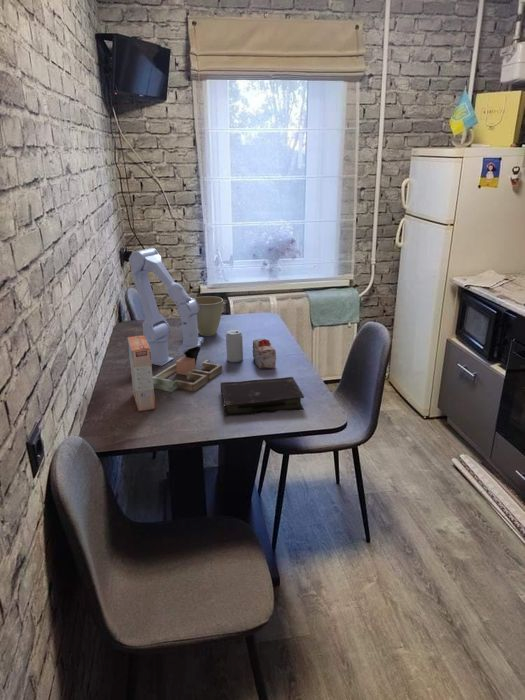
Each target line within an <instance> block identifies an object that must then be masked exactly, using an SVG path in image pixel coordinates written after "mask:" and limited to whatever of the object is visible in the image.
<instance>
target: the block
mask: <svg viewBox="0 0 525 700" xmlns="http://www.w3.org/2000/svg"><path fill="white" fill-rule="evenodd" d="M175 363H176V367H177V371H176V374H177V375H183V376H187V372H189V371H190V370H192V369H196V370H197V368H196V366H195V359H194V358H189V357H186V356H182V357H181V358H179V359H177V360H176V361H175Z"/></svg>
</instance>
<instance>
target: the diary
mask: <svg viewBox="0 0 525 700" xmlns="http://www.w3.org/2000/svg"><path fill="white" fill-rule="evenodd" d="M220 393H221V394H222V395H223V396H222V397H223V402H224V403H223V404H225V406H224V405H223V411H224V416H225V417H239V416H250V415H259V414H271V413H272V414H273V413H278V412H285V411H286V412H295V411H305V409H304V407H303V405H302V403H301V401H302V400H301V399H305V395H304V394H303V392H302V390H301V388H300V387H299V385H298V384H297V381H296V380H295V379H294V377H293V376H288V377H286V376H285V377H279V378H277V377H276V378H267V379H266V378H265V379H264V378H263V379H251V380H242V381H223V382H220Z"/></svg>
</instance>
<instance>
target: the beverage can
mask: <svg viewBox="0 0 525 700" xmlns="http://www.w3.org/2000/svg"><path fill="white" fill-rule="evenodd" d="M225 341H226V343H225V344H226V346H225V347H226V360H227V361H229V362H230V363H240V362H241V361H242V360H244V347H243V333H242V331H241V330H239V329H229V330H227V331H226V334H225Z"/></svg>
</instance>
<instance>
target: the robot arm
mask: <svg viewBox="0 0 525 700" xmlns="http://www.w3.org/2000/svg"><path fill="white" fill-rule="evenodd" d="M128 261H129V264H130V270H131V277H132V279H133V283H134V286H135V289H136V292H137V295H138V298H139V301H140V304H141V307H142V311H143V314H144V316H145V318H144V320H143V323H142V325H141V326H142V331H143V332H142V334H143V335H144V336H145V338H146V341H147V343H148V345H149V347H150V353H151V365H156V366H160V367H161V366H164V365H166V364H168V363H169V362H172V360H174V357H172V356H170V357H169V348H168V347H169V345H168V338H169V335H170V333H171V327H170V325H169V323H168V322H167V320H166V317H165V316H164V315H161V314H160V311H159V309H158V305H157V302H156V297H155V295H154V292H153V288H152V284H151V282H150V277H149V275H148V274H149V272H152V273H153V274H155V275H156V277H157V278H158V279H159V280H160V281H161V282H162V284H163V285H164V286H165V287H166V288H167V289H166V294H167V295H168V296H169V298H170V299H171V300H172V301H173V303H174V304H175V306H176V307H177V309H176V310H177V311H176V312H177V314H178V315H179V317H180V321H181V332H182V343H181V345H180V346H179V348H177V354H178V355H185V356H184V357H189V358H194V359H195V367H196V364H197V360H198V357H199V353H200V351H201V346H202V344H203V343H204V337H202V336H201V337H200V336H199V330H198V327H197V314H196V313H198V311H199V304H198V302H197V301H196V300H195V299H193V298H192V297H191V296H189V294H188V293H187V292H186V290H185V289H184V287H183V285H182V284H181V283H178V282H175V280H174V278H173V277H172V276H171V275H170V273H169V271H168V270H167V268H166V266H165V265H164V263H163V262H162V255H160V254H159V251H158V250H157V249H156V248H155V247H148V248H145V249H141V250H133V251H132V253H131V254H130V256H129V258H128ZM194 314H195V315H194Z"/></svg>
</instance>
